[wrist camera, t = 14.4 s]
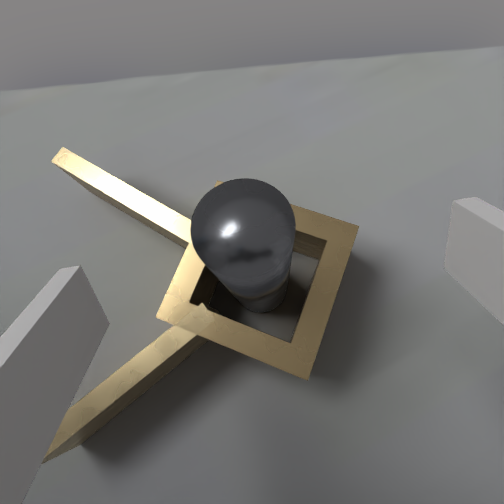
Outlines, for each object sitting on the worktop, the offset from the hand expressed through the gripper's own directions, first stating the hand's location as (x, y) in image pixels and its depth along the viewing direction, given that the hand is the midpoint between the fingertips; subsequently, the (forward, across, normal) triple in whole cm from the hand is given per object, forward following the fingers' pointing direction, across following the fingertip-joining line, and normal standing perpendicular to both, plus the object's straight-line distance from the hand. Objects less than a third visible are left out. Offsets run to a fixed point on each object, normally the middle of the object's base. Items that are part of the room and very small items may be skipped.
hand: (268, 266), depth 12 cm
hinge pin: (+9, -1, -7) cm, 11 cm away
